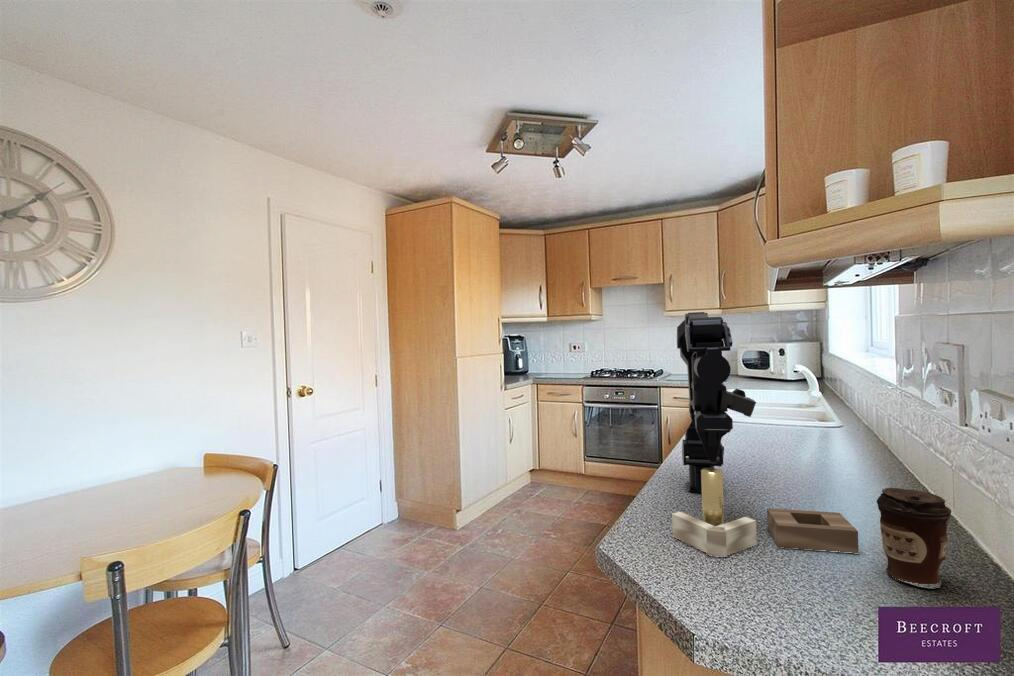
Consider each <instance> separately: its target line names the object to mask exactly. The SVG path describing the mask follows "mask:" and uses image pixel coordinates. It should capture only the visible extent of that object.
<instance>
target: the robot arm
mask: <svg viewBox="0 0 1014 676" xmlns="http://www.w3.org/2000/svg"><path fill="white" fill-rule="evenodd" d="M731 347H732V348H733V339H732V334H731V329H730V326H728V323H727V322H726V321H724V318H723V317H722V316H709V315H708V312H705V311H699V312H698V311H697V312H695V311H694V312H693V311H692V312H688V313H684V320H683V321H682V322H681V323H680V324H679V325H678V326H677V327H676V349H679V354H680V355H679V356H680V358H681V359H682V361H683V363H685V365H686V367H687V368H686V369H687V381H688V383H687V385H688V396H689V397H688V399H689V402H688V412H689V416H690V423H689V425H688V427H687V428H686V431H685V433H684V439H682V441H681V443H682V445H681V457H682V459H681V460H682V464H683V466H688V480H689V481H686V485H687V490H688V492H689V493H698V494H699V493H700V494H702V483H701V469H704V468H715V467H720V468H721V467H722V466H723V465H724V454H725V447H724V446H723V443H722V438H723V437H724V436H725V435H726V434H729V433H731V430H733V428H734V427H733V426H734V425H733V418H732V417H731V416H730V415H729V414H728V413H727V412H728V409H729V410H730V411H733V412H736V413H740V414H743V416H746V417H749V418H751V417H752V415H753V412H754V409H755V406H756V404H757V401H755V400H754V399H753V398H750V397H747V396H746V392H745V391H744V390H743V389H739V388H735V389H734V390H733V391H730V390H729V391H727V386H726V385H725V384H724V383H725V382H726V381H727V380H728V379H729V377H730V375H731V365H730V363H729V361H728V360H727V358H725V356H723V352H730V351H731Z"/></svg>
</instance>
